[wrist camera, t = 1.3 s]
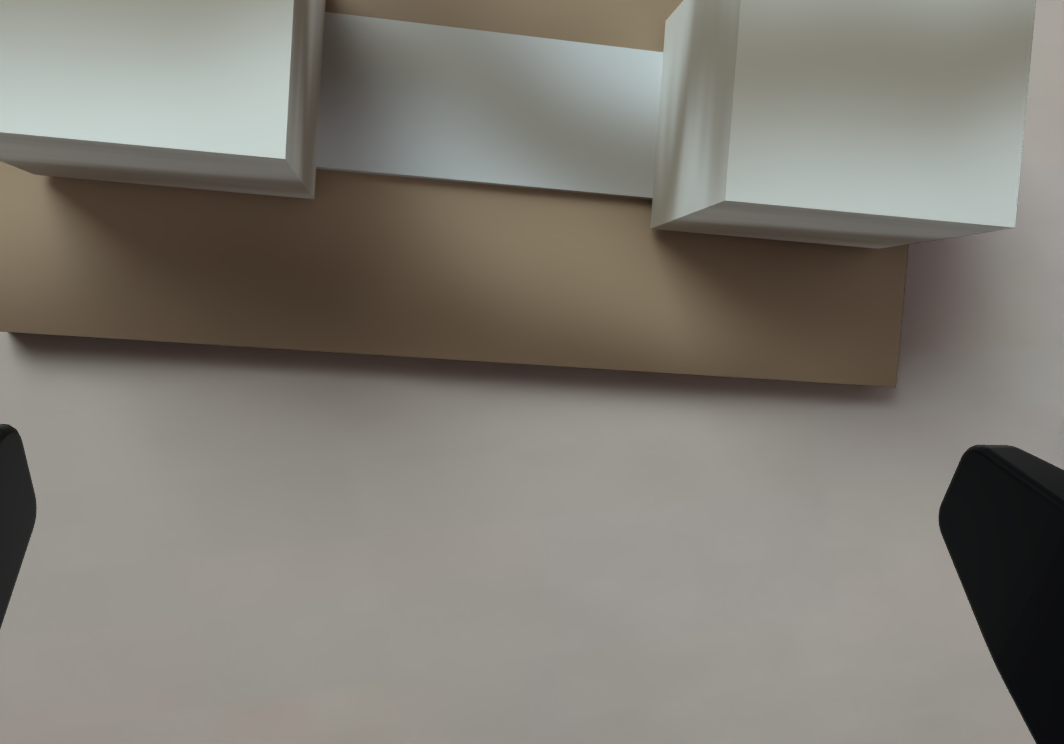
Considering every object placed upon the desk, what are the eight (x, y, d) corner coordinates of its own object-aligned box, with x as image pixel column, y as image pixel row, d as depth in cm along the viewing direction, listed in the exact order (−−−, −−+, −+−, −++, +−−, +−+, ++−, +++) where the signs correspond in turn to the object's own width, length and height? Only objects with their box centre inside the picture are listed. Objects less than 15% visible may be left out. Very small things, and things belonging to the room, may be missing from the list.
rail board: (875, 384, 24) (1043, 406, 17) (6, 330, 20) (-168, 334, 14) (914, -65, 23) (1102, -207, 17) (27, -195, 20) (-145, -431, 14)
